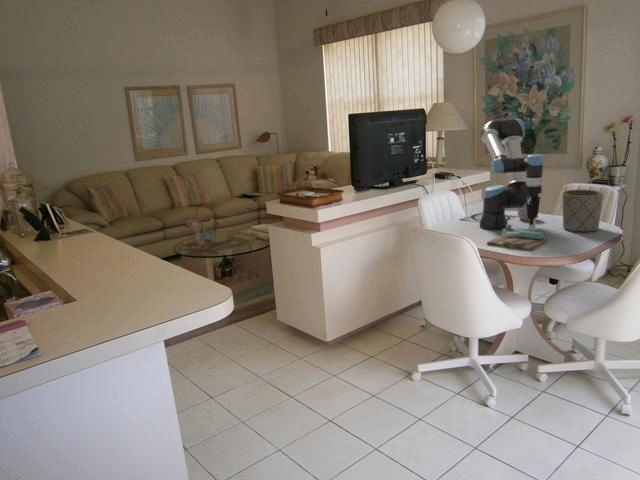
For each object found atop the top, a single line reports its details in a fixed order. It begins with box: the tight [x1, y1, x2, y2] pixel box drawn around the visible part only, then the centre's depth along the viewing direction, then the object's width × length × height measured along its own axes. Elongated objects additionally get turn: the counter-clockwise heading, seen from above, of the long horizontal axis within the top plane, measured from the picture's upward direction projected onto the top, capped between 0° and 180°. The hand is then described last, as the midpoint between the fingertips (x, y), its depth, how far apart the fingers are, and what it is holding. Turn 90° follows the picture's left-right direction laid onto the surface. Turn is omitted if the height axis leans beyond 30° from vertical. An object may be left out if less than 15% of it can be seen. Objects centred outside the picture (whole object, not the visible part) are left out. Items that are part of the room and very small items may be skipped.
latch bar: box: [501, 227, 544, 239], centre depth 256 cm, size 20×6×2 cm, turn 45°
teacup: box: [516, 207, 529, 222], centre depth 297 cm, size 14×11×8 cm
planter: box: [562, 189, 604, 233], centre depth 266 cm, size 19×19×20 cm
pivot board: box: [486, 224, 549, 252], centre depth 250 cm, size 22×21×7 cm
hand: (532, 230), depth 259 cm, fingers closed
